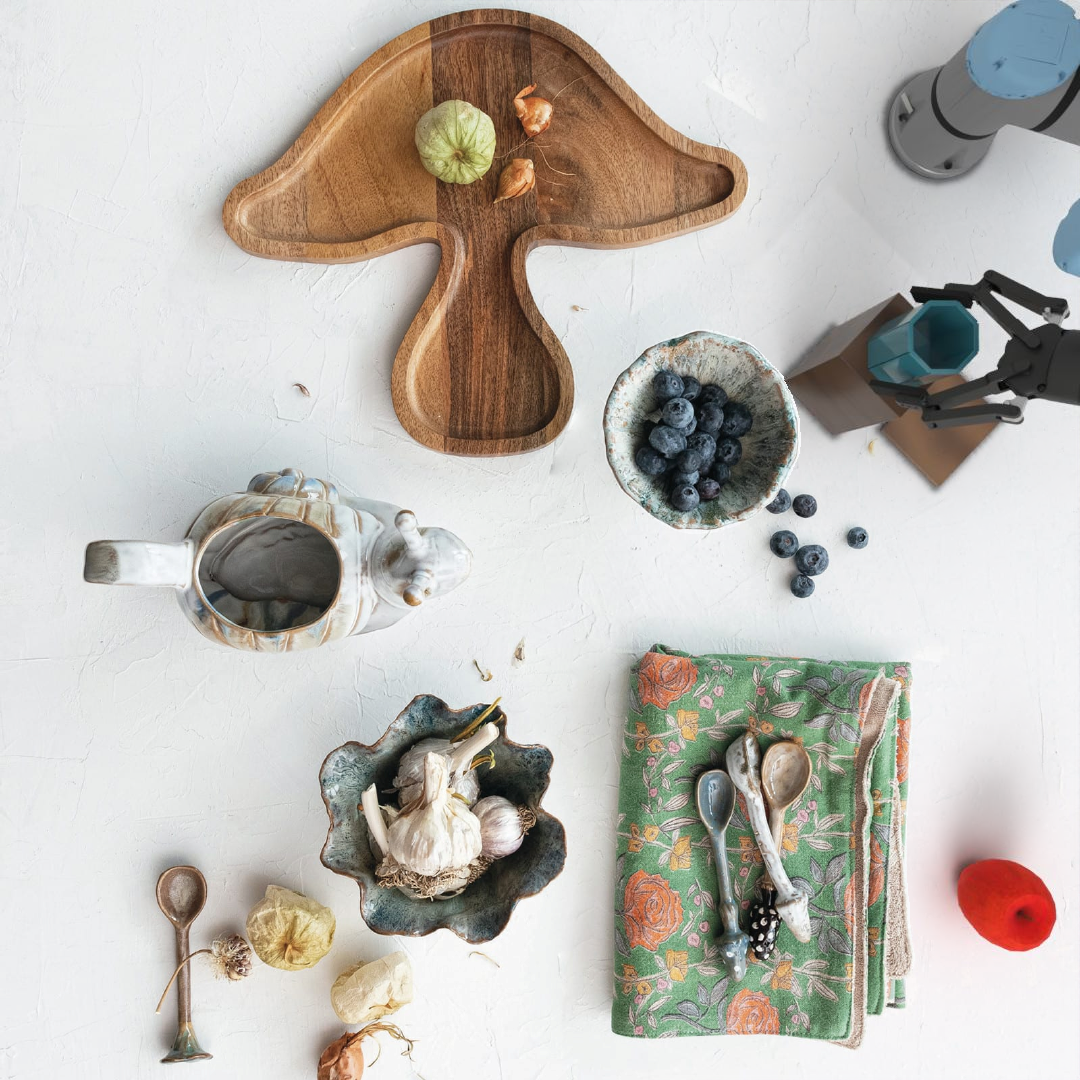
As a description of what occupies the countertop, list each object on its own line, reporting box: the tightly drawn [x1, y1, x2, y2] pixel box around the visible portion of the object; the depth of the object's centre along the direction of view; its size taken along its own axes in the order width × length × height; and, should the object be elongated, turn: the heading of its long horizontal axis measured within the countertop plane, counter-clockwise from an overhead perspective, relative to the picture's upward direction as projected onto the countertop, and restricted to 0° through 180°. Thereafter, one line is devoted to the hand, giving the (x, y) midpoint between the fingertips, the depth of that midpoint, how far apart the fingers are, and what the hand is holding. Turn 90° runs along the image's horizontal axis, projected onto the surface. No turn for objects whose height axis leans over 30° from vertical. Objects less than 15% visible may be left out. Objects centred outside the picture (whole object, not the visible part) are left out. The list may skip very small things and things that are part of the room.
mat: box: [879, 373, 1001, 488], centre depth 125 cm, size 14×12×1 cm
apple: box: [956, 858, 1057, 953], centre depth 121 cm, size 12×12×13 cm
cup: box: [868, 300, 980, 387], centre depth 100 cm, size 8×8×10 cm
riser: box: [783, 292, 935, 436], centre depth 115 cm, size 11×11×20 cm
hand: (893, 340), depth 101 cm, fingers open, 11 cm apart
